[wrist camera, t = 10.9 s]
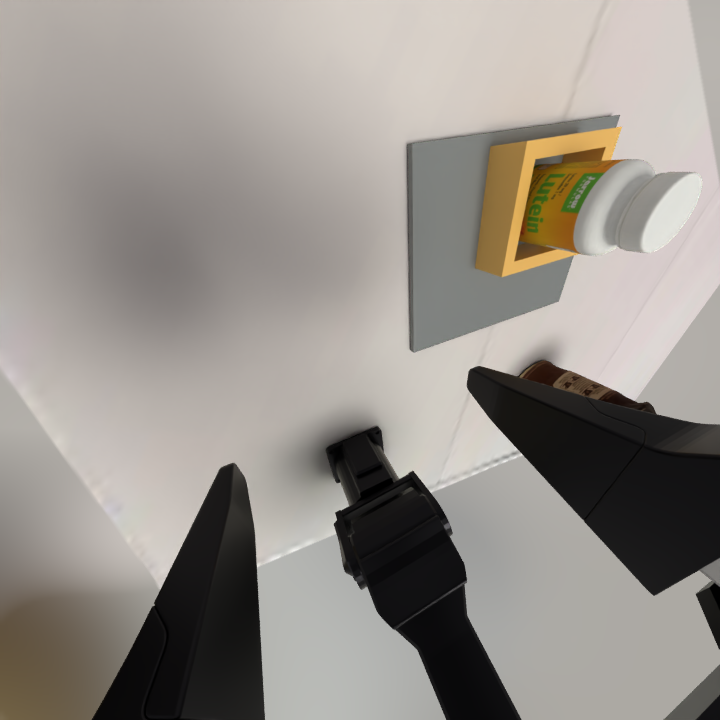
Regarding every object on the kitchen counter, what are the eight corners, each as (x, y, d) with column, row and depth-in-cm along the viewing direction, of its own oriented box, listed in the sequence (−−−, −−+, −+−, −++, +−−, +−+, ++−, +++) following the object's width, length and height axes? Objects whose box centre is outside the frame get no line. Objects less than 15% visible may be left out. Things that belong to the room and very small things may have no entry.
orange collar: (547, 247, 26) (578, 253, 24) (474, 268, 24) (501, 277, 22) (578, 132, 21) (622, 126, 19) (490, 146, 19) (527, 141, 17)
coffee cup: (522, 354, 35) (643, 424, 25) (564, 347, 38) (687, 407, 28) (499, 406, 39) (593, 483, 29) (538, 396, 42) (635, 463, 32)
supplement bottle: (509, 162, 20) (677, 150, 13) (559, 166, 22) (732, 157, 14) (489, 241, 23) (616, 269, 15) (534, 238, 25) (668, 263, 17)
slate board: (553, 299, 31) (558, 301, 31) (410, 349, 27) (413, 352, 26) (611, 116, 22) (620, 114, 22) (407, 144, 17) (412, 143, 17)
